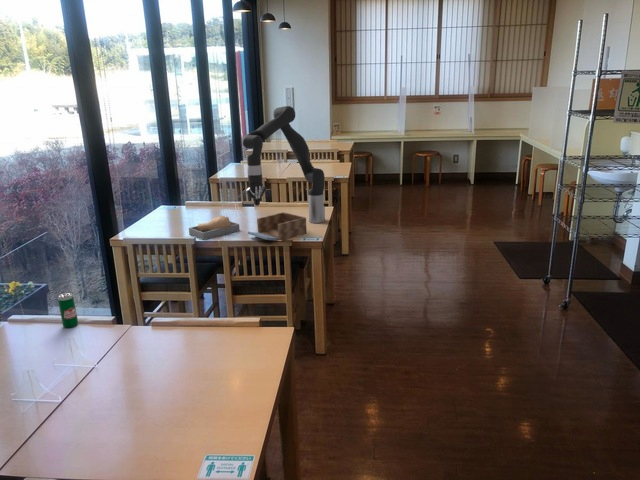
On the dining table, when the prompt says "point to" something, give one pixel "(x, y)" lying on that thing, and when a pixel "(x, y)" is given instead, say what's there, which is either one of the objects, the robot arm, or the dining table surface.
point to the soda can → (68, 310)
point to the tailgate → (262, 236)
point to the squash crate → (213, 231)
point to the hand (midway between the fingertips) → (257, 205)
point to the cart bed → (282, 225)
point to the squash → (215, 224)
